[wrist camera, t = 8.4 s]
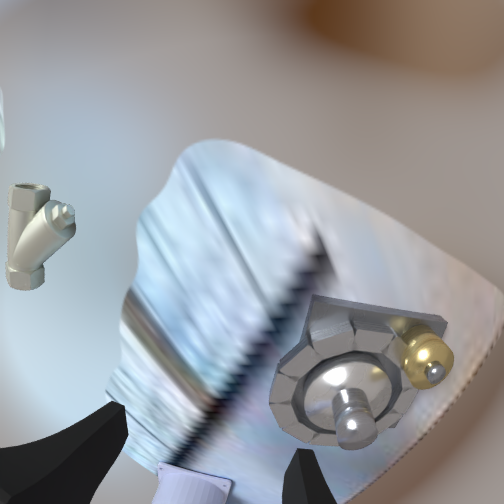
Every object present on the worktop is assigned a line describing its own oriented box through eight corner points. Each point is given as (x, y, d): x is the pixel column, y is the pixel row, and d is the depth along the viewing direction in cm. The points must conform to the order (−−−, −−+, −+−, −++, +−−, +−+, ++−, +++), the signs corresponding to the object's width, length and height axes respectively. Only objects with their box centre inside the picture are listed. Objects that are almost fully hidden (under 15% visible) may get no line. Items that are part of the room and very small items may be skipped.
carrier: (385, 428, 20) (398, 468, 15) (260, 416, 21) (254, 462, 16) (440, 315, 18) (474, 348, 13) (294, 290, 18) (296, 326, 13)
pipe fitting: (89, 196, 19) (32, 181, 19) (59, 201, 15) (1, 184, 15) (79, 292, 21) (26, 268, 21) (53, 311, 17) (-2, 282, 17)
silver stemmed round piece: (362, 421, 19) (374, 468, 14) (291, 409, 19) (290, 460, 14) (400, 361, 17) (425, 406, 12) (323, 343, 18) (334, 392, 13)
